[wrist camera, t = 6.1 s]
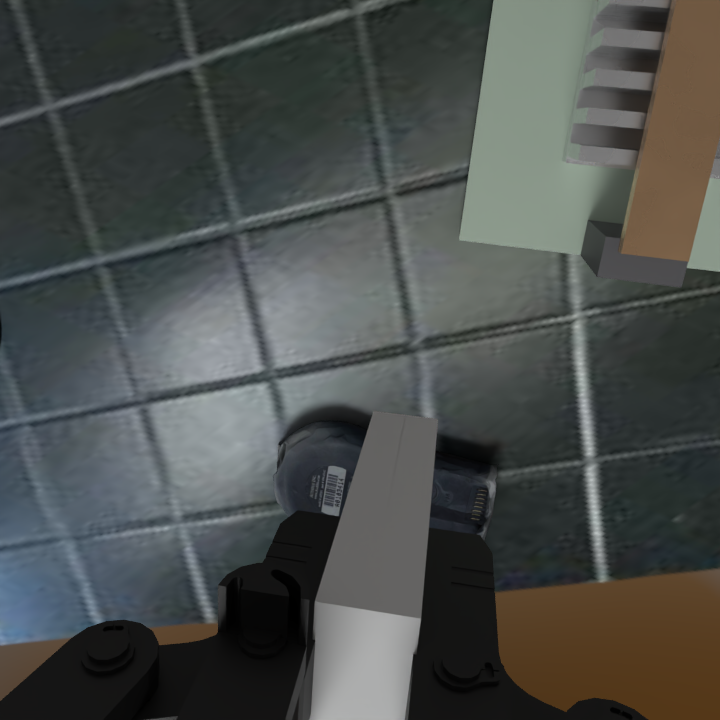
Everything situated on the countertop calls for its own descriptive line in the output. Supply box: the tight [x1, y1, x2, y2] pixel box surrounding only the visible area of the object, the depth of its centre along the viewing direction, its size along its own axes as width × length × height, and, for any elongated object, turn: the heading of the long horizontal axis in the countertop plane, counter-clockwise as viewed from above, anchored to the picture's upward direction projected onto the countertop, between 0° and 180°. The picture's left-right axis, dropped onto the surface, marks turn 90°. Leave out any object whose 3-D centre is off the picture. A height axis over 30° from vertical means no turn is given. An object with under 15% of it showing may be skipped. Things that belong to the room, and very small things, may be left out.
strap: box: [618, 0, 720, 262], centre depth 29 cm, size 4×15×1 cm, turn 174°
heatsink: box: [562, 0, 720, 179], centre depth 32 cm, size 8×8×6 cm
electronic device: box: [273, 421, 499, 540], centre depth 46 cm, size 9×6×15 cm
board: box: [459, 0, 720, 287], centre depth 32 cm, size 18×18×10 cm
